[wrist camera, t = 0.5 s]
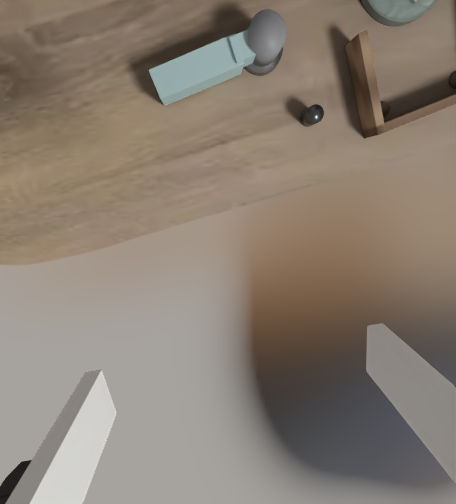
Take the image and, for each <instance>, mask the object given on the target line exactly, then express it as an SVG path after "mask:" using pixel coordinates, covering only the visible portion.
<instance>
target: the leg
mask: <svg viewBox="0 0 456 504" xmlns="http://www.w3.org/2000/svg"><path fill="white" fill-rule="evenodd" d="M286 34H287V31H286V25H285V22H284V20H283V18H282V17H281V15H280V14H278V13H277V12H276V11H273V10H262V11H260V12H258V13H257V14H256V15H255V16H254V17H253V19H252V20H251V23H250V26H249V29H248V30H245V31H243V32H241V33H238V34H236V35H235V33H234V34H232V35H229V36H227V37H225V38H222V39H220V40H218V41H215V42H213V43H211V44H208V45H206V46H204V47H201V48H199V49H197V50H194V51H192V52H189V53H187V54H185V55H182V56H180V57H178V58H175V59H173V60H171V61H168V62H166V63H164V64H161V65H159V66H157V67H154V68H152V69H150V70H149V72H150V75H151V77H152V80H153V82H154V85H155V87H156V89H157V92H158V94H159V97H160V99H161V101H162V102H163V104H164V105H165V106H166V105H169V104H171V103H174V102H176V101H178V100H181V99H183V98H185V97H188V96H190V95H193V94H195V93H197V92H200V91H202V90H204V89H207V88H209V87H212V86H214V85H216V84H219V83H221V82H224V81H226V80H228V79H231V78H233V77H235V76H238V75H240V74H241V73H242V70H243V67H245V66H248V65H250V64H252V63H253V64H254V65H256V66H260V67H264V66H268V65H270V64H271V63H272V62H273V61H274V60H275V59H276V57H277V55H278V54H279V52H280V50H281V48H282V47H283V45H284V43H285V40H286Z"/></svg>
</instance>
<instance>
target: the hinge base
mask: <svg viewBox="0 0 456 504" xmlns="http://www.w3.org/2000/svg"><path fill="white" fill-rule="evenodd" d="M248 29H249V27H248V28H247V29H246V30H248ZM282 51H283V47H282V48H281V50H280V52H279V54H278V55H277V57H276V59H275V60H274V61H273V62H272V63H271V64H270V65H268V66H264V67H260V66H256V65H254V64H253V63H252V64H250V65H248V66H245V67H244V68H245V69H246V70H247V71H248V72H250V73H251V74H254V75H258V76H262V75H266V74H268V73H270V72H271V71H272V70H273V69H274V68H275V67H276V65H277V64H278V62H279V60H280V58H281V56H282ZM323 115H324V111H323V108H322V107H321V106H320V105H317V104H316V105H312V106H311V107H309V108H308V109H306V110H305V111H304V112H303V113H302V114H301V117H300V120H301V123H302V124H303V125H304V126H306V127H309V126H311V125H313V124H315V123H318V122H319V121H321V119H322V118H323Z"/></svg>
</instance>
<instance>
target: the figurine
mask: <svg viewBox="0 0 456 504" xmlns="http://www.w3.org/2000/svg"><path fill="white" fill-rule="evenodd" d="M437 1H438V0H361V2H362V4H363V6H364V8H365V9H366V11H367V12H368V13H369V15H370V16H371V17H373V18H374V19H375V20H377V21H378V22H380V23H382V24H384V25H389V26H402V25H405V24H408V23H411V22H413V21H415V20H416V19H418V18H419V17H420V16H422V15H423V14H424V13H426V12H427V11H428V10H429V9H430V8H431V7H432V6H433V5H434V4H435V3H436V2H437Z"/></svg>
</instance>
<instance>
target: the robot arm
mask: <svg viewBox="0 0 456 504" xmlns="http://www.w3.org/2000/svg"><path fill="white" fill-rule="evenodd" d="M366 365H367V366H366V371H367V372H368V374H369V375H370V376H371V377H372V379H373V380H374V381H375V382H376V384H377V385H378V386H379V388H380V389H381V390H382V391H383V393H384V394H385V395H386V396H387V398H388V399H389V400H390V401H391V403H392V404H393V405H394V406H395V408H396V409H397V410H398V411H399V413H400V414H401V415H402V417H403V418H404V419H405V420H406V421H407V423H408V424H409V425H410V427H411V428H412V429H413V430H414V432H415V433H416V434H417V435H418V437H419V438H420V439H421V440H422V442H423V443H424V444H425V445H426V447H427V448H428V449H429V450H430V452H431V453H432V454H433V456H434V457H435V458H436V459H437V461H438V462H439V463H440V464H441V466H442V467H443V468H444V469H445V471H446V472H447V473H448V474H449V476H450V477H451V478H452V480H453V481H454V482H455V483H456V386H454V385H453V384H452V383H450V382H449V381H448V380H447V379H446V378H445V377H444V376H442V375H441V374H440V373H439V372H438V371H437V370H435V369H434V368H433V367H432V366H431V365H430V364H429V363H427V362H426V361H425V360H424V359H423V358H422V357H421V356H419V355H418V354H417V353H416V352H415V351H414V350H412V349H411V348H410V347H409V346H408V345H407V344H406V343H404V342H403V341H402V340H401V339H400V338H399V337H397V336H396V335H395V334H394V333H393V332H392V331H391V330H389V329H388V328H387V327H386V326H385V325H384V324H383V323H382V324H376V325H370V326H368V327H367V361H366ZM115 416H116V410H115V407H114V404H113V401H112V398H111V395H110V393H109V390H108V387H107V384H106V381H105V378H104V375H103V373H102V370H96V371H91V372H85V374H84V376H83V377H82V379H81V381H80V382H79V384H78V385H77V387H76V389H75V391H74V392H73V394H72V395H71V397H70V399H69V400H68V402H67V404H66V405H65V407H64V408H63V410H62V412H61V413H60V415H59V417H58V418H57V420H56V422H55V423H54V425H53V427H52V428H51V430H50V431H49V433H48V435H47V436H46V438H45V440H44V441H43V443H42V444H41V446H40V448H39V449H38V451H37V453H36V455H35V456H34V458H33V459H32V460H29V461H24V462H21V463H20V464H19V465H18V466H17V467H16V468H15V469H14V470H13V471H12V472H11V473H10V474H9V475H8V476H7V477H6V479H5V480H4V481H3V483H2V485H1V486H0V504H83V501H84V498H85V496H86V493H87V491H88V488H89V485H90V483H91V480H92V477H93V475H94V472H95V469H96V467H97V464H98V461H99V459H100V456H101V453H102V451H103V448H104V445H105V443H106V440H107V438H108V435H109V432H110V430H111V427H112V424H113V421H114V419H115Z"/></svg>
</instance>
